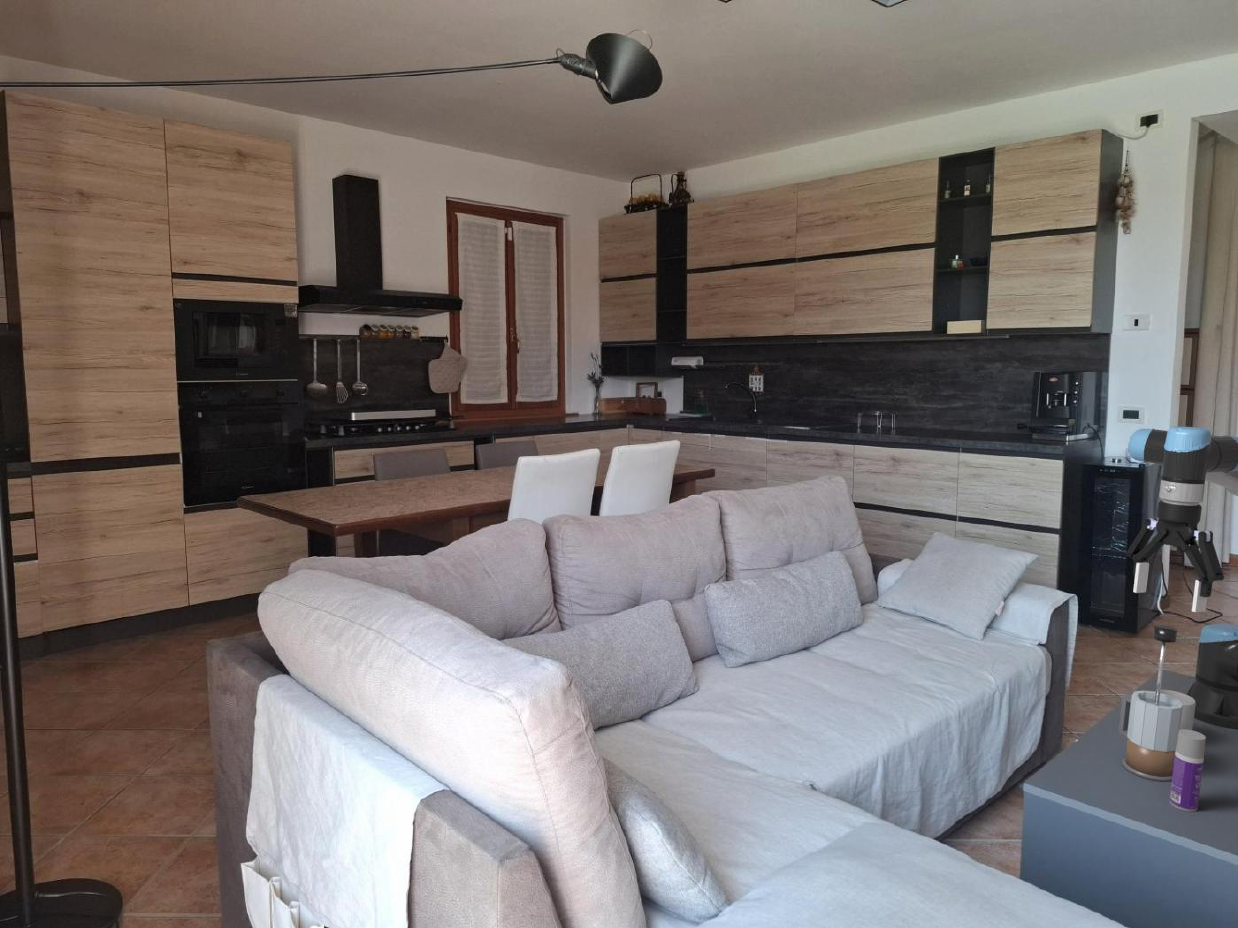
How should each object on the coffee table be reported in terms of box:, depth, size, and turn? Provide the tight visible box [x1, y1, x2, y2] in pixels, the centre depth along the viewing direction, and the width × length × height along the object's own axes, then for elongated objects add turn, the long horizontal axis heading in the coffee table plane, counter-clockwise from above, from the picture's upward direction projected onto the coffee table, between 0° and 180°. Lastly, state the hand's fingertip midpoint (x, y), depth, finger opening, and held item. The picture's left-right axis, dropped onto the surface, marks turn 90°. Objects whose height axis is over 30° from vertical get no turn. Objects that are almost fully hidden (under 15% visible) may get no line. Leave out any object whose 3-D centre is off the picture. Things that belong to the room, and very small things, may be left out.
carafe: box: [1118, 690, 1183, 783], centre depth 180 cm, size 10×12×16 cm
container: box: [1169, 729, 1207, 813], centre depth 165 cm, size 5×5×15 cm
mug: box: [1152, 689, 1196, 731], centre depth 194 cm, size 12×8×11 cm
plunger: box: [1142, 624, 1178, 707], centre depth 177 cm, size 6×6×18 cm
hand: (1167, 601), depth 175 cm, fingers open, 13 cm apart
